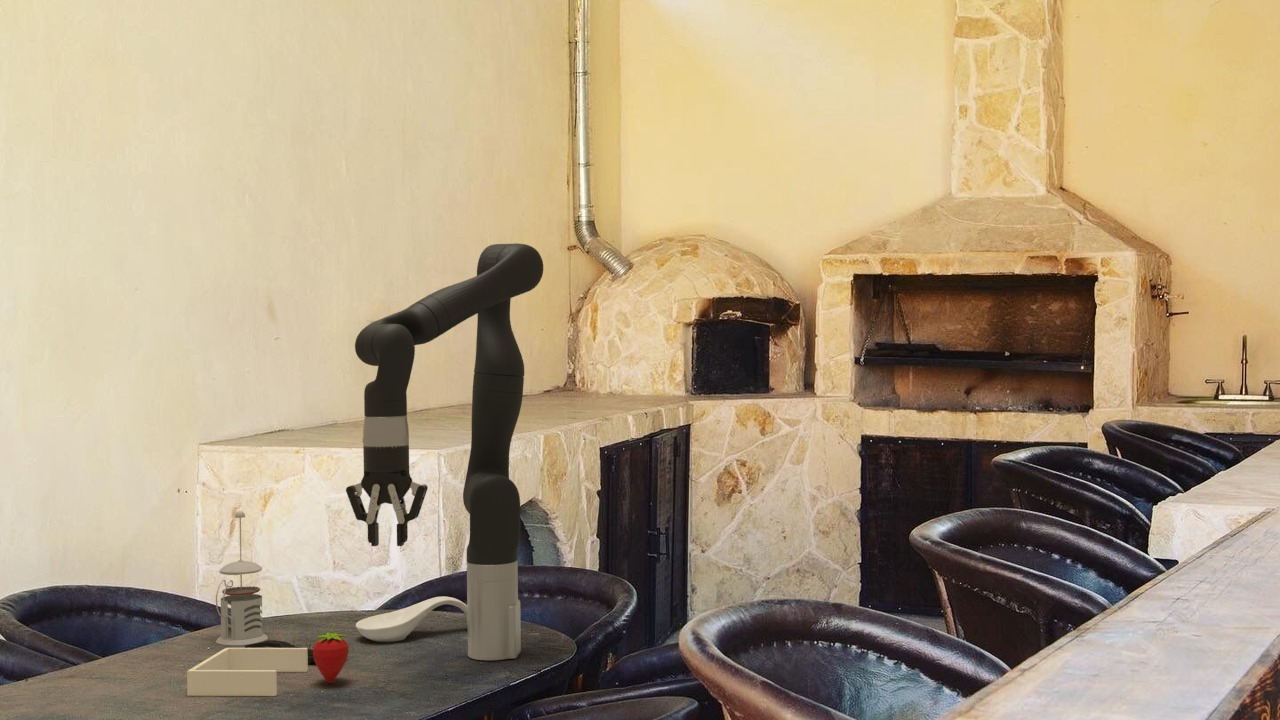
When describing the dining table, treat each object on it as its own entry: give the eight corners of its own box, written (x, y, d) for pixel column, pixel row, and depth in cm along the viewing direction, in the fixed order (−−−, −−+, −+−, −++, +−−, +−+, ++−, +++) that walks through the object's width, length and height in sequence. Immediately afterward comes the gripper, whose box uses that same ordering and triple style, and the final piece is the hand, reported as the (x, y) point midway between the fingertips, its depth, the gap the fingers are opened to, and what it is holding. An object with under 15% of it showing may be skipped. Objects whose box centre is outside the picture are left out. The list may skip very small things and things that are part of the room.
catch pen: (307, 670, 228) (307, 647, 228) (275, 696, 211) (274, 671, 211) (226, 670, 229) (226, 647, 229) (187, 695, 212) (187, 671, 212)
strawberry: (347, 676, 223) (346, 618, 223) (350, 687, 216) (349, 627, 216) (312, 679, 222) (311, 620, 222) (313, 690, 215) (313, 629, 215)
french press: (278, 635, 257) (276, 509, 256) (242, 648, 246) (240, 516, 246) (236, 632, 260) (234, 507, 260) (198, 645, 249) (196, 514, 249)
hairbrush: (263, 630, 250) (356, 637, 237) (264, 649, 250) (357, 658, 237) (228, 638, 243) (322, 647, 230) (229, 658, 243) (323, 668, 230)
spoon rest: (363, 649, 245) (363, 611, 245) (349, 637, 256) (349, 600, 256) (483, 635, 255) (483, 599, 255) (465, 624, 266) (465, 589, 266)
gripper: (433, 441, 221) (434, 542, 222) (351, 441, 222) (352, 542, 222) (422, 444, 214) (424, 549, 214) (337, 445, 215) (339, 549, 215)
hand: (387, 545), depth 218 cm, fingers open, 3 cm apart
